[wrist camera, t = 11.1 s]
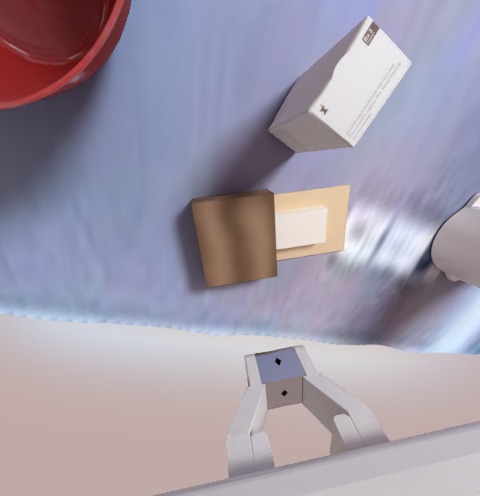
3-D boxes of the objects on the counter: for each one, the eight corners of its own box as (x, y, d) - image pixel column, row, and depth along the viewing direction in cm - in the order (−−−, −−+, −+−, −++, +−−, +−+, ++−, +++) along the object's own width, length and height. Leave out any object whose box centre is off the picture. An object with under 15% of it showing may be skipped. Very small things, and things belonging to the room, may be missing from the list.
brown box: (267, 189, 36) (274, 193, 33) (271, 265, 42) (277, 276, 39) (192, 198, 35) (191, 204, 32) (206, 275, 41) (206, 287, 38)
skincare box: (296, 153, 35) (353, 155, 21) (264, 129, 33) (305, 115, 20) (330, 100, 33) (418, 64, 19) (298, 71, 31) (372, 9, 17)
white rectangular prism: (321, 205, 39) (327, 208, 37) (320, 238, 41) (325, 242, 39) (270, 212, 38) (273, 215, 36) (271, 245, 40) (274, 249, 38)
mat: (348, 184, 38) (349, 185, 38) (342, 249, 43) (343, 250, 43) (267, 195, 37) (268, 195, 37) (270, 260, 42) (271, 261, 42)
